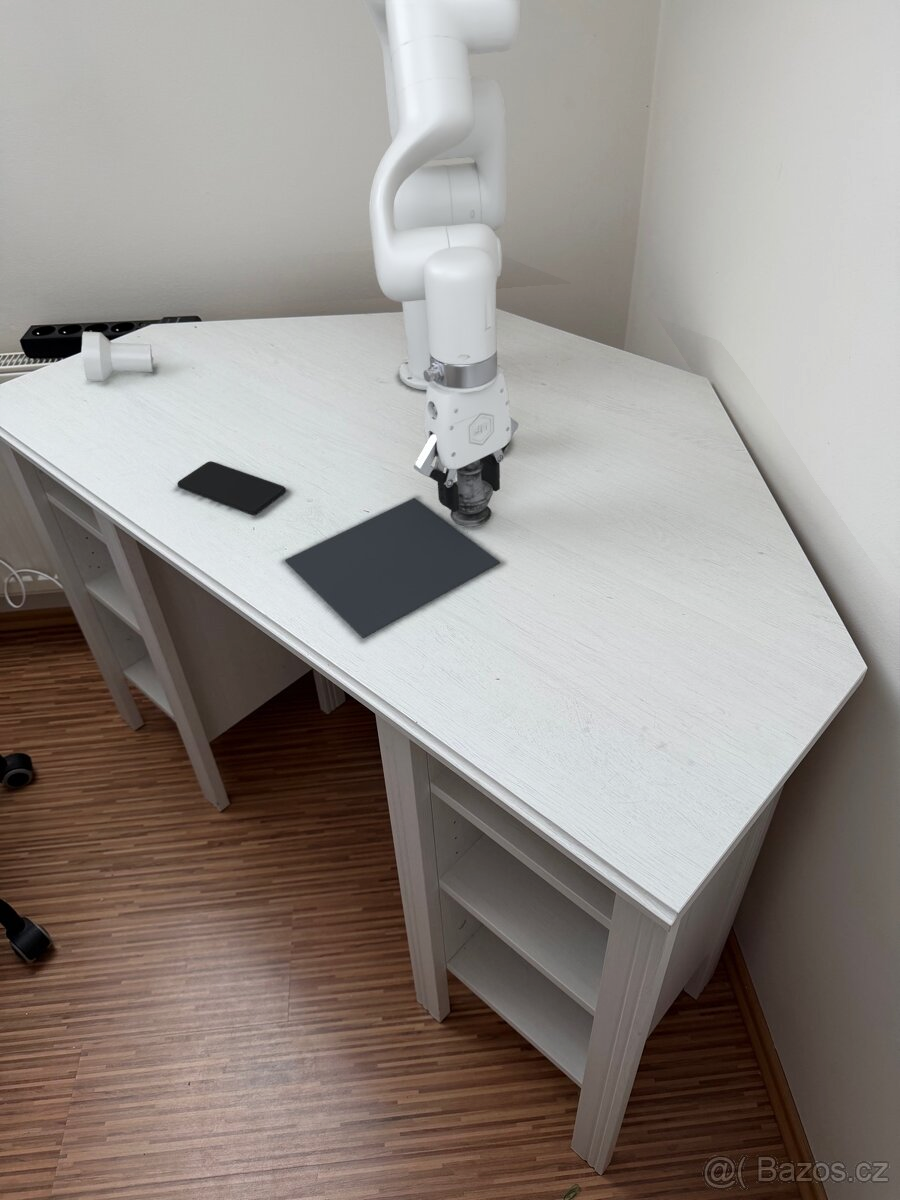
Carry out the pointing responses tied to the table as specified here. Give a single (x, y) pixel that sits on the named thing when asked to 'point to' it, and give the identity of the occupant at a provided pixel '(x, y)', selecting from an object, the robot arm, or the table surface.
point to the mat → (390, 565)
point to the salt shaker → (472, 496)
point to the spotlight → (113, 356)
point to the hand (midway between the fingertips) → (470, 495)
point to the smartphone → (232, 487)
